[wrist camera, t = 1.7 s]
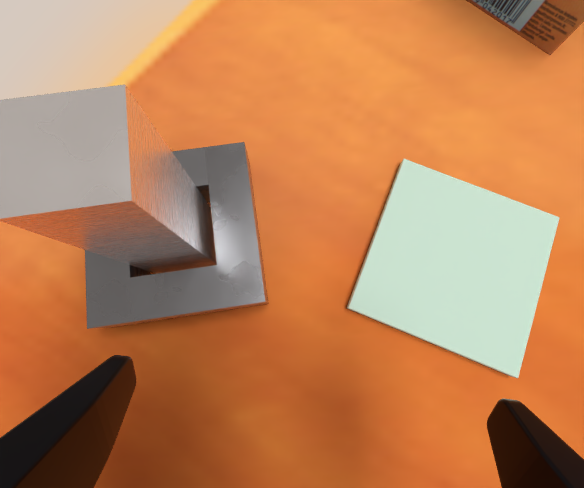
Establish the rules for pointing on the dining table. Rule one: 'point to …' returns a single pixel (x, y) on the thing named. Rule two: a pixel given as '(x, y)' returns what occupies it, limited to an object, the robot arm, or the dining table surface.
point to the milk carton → (537, 19)
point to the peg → (101, 180)
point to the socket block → (198, 281)
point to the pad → (456, 267)
